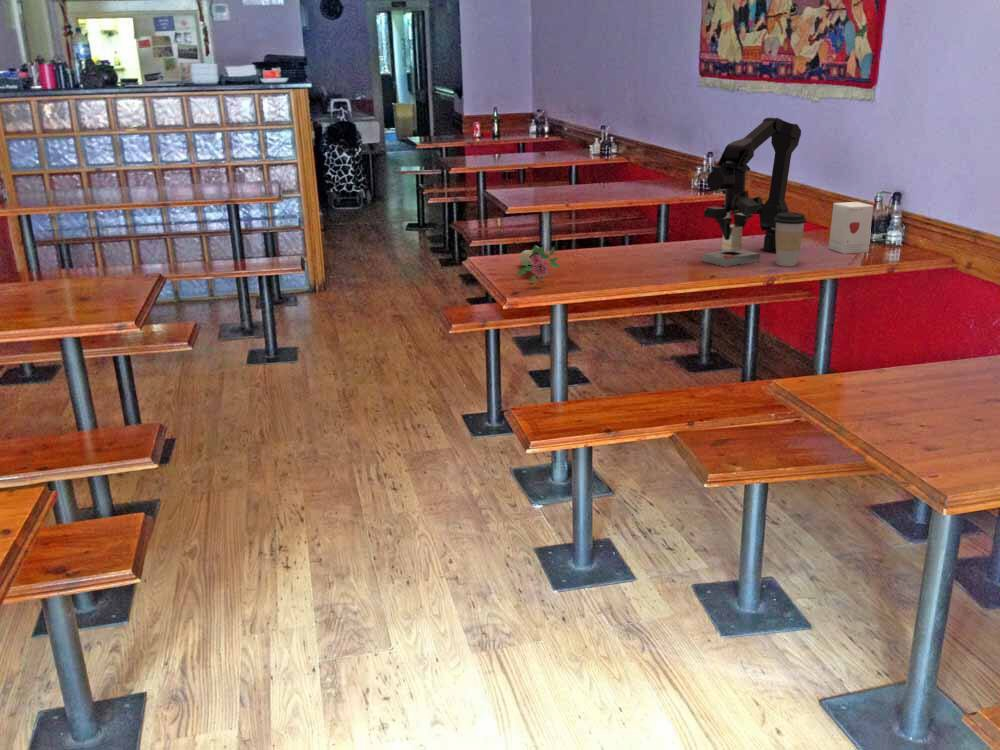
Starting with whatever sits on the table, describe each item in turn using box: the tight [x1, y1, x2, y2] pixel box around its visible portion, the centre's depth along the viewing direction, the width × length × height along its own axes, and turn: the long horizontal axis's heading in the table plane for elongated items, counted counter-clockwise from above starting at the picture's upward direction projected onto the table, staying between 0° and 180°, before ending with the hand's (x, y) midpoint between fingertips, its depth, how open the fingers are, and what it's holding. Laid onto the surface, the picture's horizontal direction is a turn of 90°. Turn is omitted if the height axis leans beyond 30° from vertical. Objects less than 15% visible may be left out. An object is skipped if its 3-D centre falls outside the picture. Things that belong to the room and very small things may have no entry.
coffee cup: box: [774, 212, 808, 267], centre depth 279 cm, size 9×9×15 cm
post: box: [721, 223, 743, 252], centre depth 284 cm, size 4×4×7 cm
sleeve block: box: [701, 248, 761, 267], centre depth 286 cm, size 14×10×3 cm
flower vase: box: [516, 244, 560, 282], centre depth 269 cm, size 12×12×35 cm
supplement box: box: [828, 201, 874, 255], centre depth 296 cm, size 9×9×15 cm
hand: (732, 238), depth 284 cm, fingers closed on post, 4 cm apart
